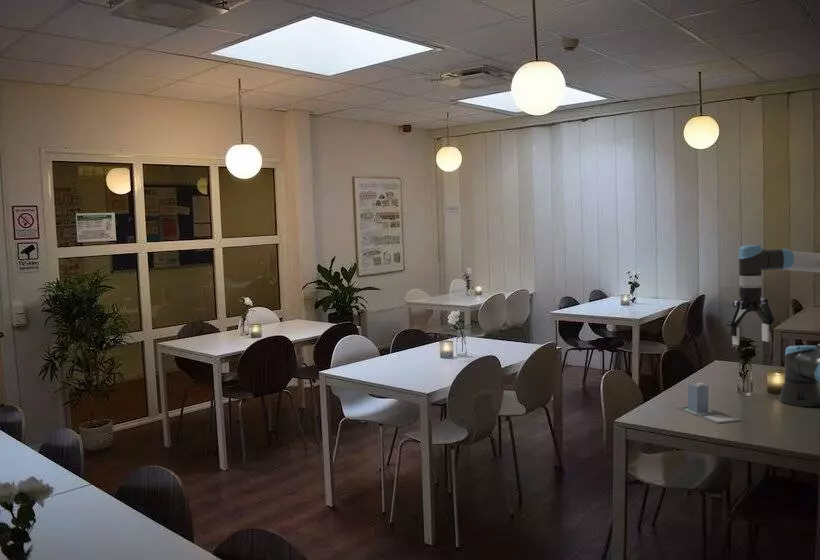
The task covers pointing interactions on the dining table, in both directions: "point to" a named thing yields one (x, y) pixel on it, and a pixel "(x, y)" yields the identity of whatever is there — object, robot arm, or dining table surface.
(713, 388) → the dining table surface
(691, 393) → the blue rectangular block
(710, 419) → the dock
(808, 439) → the dining table surface
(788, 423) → the dining table surface
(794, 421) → the dining table surface
